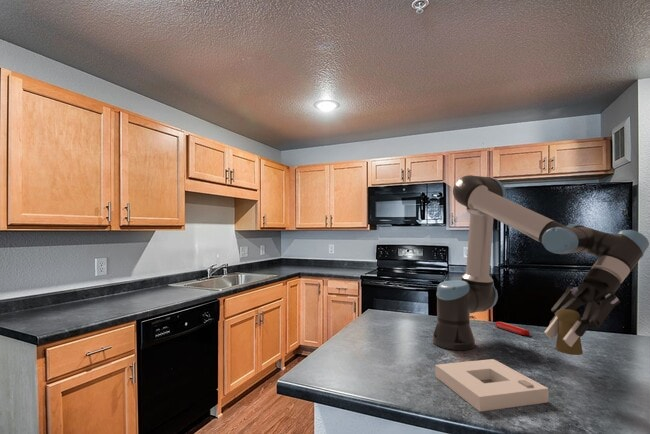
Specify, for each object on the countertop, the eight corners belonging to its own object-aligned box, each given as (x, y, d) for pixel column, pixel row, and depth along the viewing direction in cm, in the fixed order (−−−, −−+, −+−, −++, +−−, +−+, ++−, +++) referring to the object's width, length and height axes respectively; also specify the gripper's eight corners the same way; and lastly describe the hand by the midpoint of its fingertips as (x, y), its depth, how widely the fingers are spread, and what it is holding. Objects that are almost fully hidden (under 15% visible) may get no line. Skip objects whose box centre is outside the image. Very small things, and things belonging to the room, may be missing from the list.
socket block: (435, 376, 102) (435, 363, 103) (493, 370, 107) (493, 357, 107) (479, 411, 83) (479, 394, 83) (548, 402, 87) (548, 386, 87)
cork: (587, 355, 89) (587, 313, 90) (561, 353, 91) (561, 312, 91) (575, 347, 95) (575, 307, 96) (551, 345, 97) (551, 306, 97)
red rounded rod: (532, 336, 141) (532, 329, 141) (525, 338, 139) (525, 330, 139) (499, 326, 156) (499, 319, 156) (493, 327, 154) (493, 320, 154)
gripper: (649, 291, 88) (599, 361, 84) (582, 280, 106) (537, 337, 102) (633, 271, 87) (581, 341, 83) (568, 263, 104) (522, 320, 101)
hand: (557, 339), depth 92 cm, fingers closed on cork, 5 cm apart
